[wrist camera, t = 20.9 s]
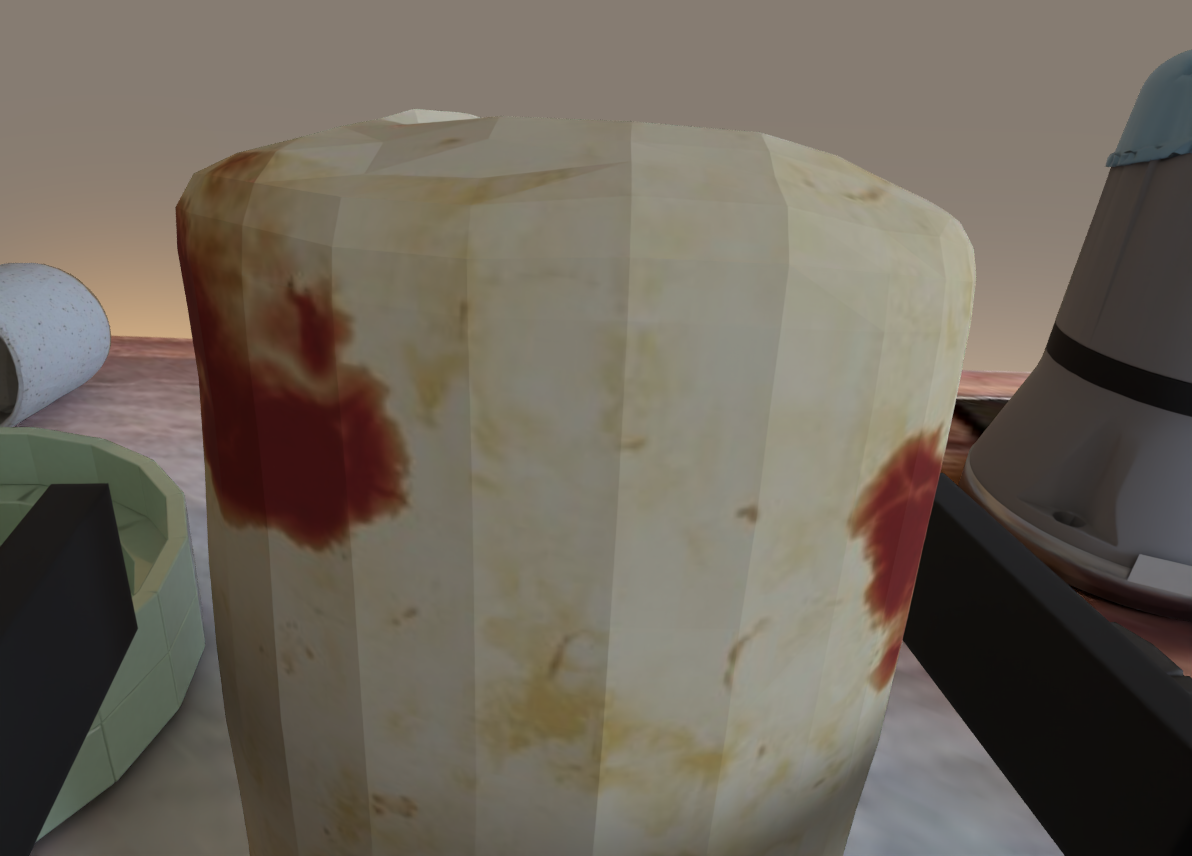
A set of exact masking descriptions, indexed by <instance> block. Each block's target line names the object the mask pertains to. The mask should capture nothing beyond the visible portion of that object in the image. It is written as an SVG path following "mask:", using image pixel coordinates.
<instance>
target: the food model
mask: <svg viewBox="0 0 1192 856" xmlns="http://www.w3.org/2000/svg"><path fill="white" fill-rule="evenodd" d="M176 223H177V224H176V226H177V249H178V255H179V260H180V266H181V272H182V278H183V283H184V289H185V295H186V301H187V306H188V312H189V319H190V325H191V332H192V338H193V344H194V351H195V357H196V363H197V370H198V376H199V388H200V403H201V417H202V432H203V447H204V462H205V482H206V505H207V529H208V553H209V567H210V578H211V589H212V600H213V611H214V622H215V633H216V644H217V652H218V660H219V668H220V676H221V684H222V692H223V700H224V708H225V715H226V721H227V727H228V732H229V737H230V742H231V747H232V752H233V757H234V762H235V768H236V773H237V778H238V783H239V789H240V795H241V801H242V807H243V813H244V819H245V825H246V831H247V837H248V843H249V852H250V856H843V853H844V850H845V846H846V843H847V839H848V836H849V832H850V829H851V826H852V822H853V819H854V815H855V812H856V808H857V805H858V802H859V799H860V796H861V793H862V790H863V787H864V784H865V781H866V778H867V775H868V772H869V769H870V766H871V763H872V760H873V757H874V754H875V751H876V748H877V745H878V742H879V738H880V734H881V730H882V726H883V721H884V717H885V713H886V708H887V704H888V700H889V696H890V691H891V687H892V683H893V678H894V674H895V670H896V665H897V661H898V657H899V653H900V648H901V644H902V640H903V635H904V631H905V627H906V622H907V618H908V613H909V608H910V604H911V599H912V595H913V590H914V585H915V581H916V576H917V572H918V567H919V563H920V558H921V553H922V549H923V544H924V540H925V536H926V532H927V527H928V523H929V519H930V515H931V510H932V506H933V502H934V497H935V493H936V489H937V485H938V480H939V476H940V472H941V467H942V463H943V459H944V454H945V449H946V444H947V440H948V435H949V430H950V425H951V420H952V416H953V411H954V406H955V401H956V396H957V392H958V387H959V382H960V377H961V372H962V366H963V361H964V355H965V350H966V344H967V339H968V334H969V329H970V324H971V318H972V310H973V300H974V293H975V284H976V270H975V259H974V250H973V247H972V244H971V243H970V241H969V239H968V237H967V235H966V233H965V231H964V229H963V227H962V225H961V223H960V222H959V221H958V220H957V219H955V218H954V217H953V216H951V215H950V214H949V213H948V212H946V211H945V210H943V209H941V208H940V207H938V206H936V205H935V204H933V203H931V202H930V201H928V200H926V199H924V198H922V197H920V196H917V195H916V194H913V193H911V192H909V191H907V190H905V189H903V188H901V187H899V186H897V185H894V184H893V183H890V182H888V181H886V180H884V179H882V178H880V177H878V176H876V175H874V174H872V173H870V172H868V171H866V170H864V169H862V168H860V167H858V166H856V165H854V164H852V163H850V162H849V161H847V160H845V159H843V158H841V157H839V156H836V155H833V154H829V153H827V152H823V151H820V150H817V149H813V148H810V147H807V146H803V145H800V144H797V143H793V142H790V141H787V140H783V139H780V138H777V137H774V136H770V135H767V134H763V133H760V132H748V131H738V130H725V129H714V128H702V127H691V126H678V125H667V124H655V123H644V122H632V121H607V120H582V119H557V118H532V117H506V116H497V117H487V118H481V117H477V116H474V115H470V114H467V113H458V112H446V111H435V110H422V109H412V110H409V111H405V112H402V113H398V114H395V115H391V116H388V117H384V118H381V119H376V120H371V121H366V122H360V123H355V124H350V125H345V126H340V127H337V128H333V129H329V130H326V131H322V132H318V133H314V134H311V135H307V136H304V137H300V138H296V139H292V140H287V141H283V142H279V143H275V144H271V145H268V146H263V147H259V148H255V149H252V150H248V151H243V152H239V153H236V154H234V155H232V156H230V157H228V158H225V159H223V160H221V161H219V162H217V163H215V164H213V165H211V166H209V167H207V168H204V169H202V170H200V171H198V172H196V173H194V174H193V176H192V178H191V180H190V181H189V183H188V185H187V187H186V189H185V191H184V193H183V195H182V196H181V198H180V200H179V202H178V204H177V206H176Z"/></svg>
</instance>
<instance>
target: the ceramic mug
mask: <svg viewBox="0 0 1192 856" xmlns="http://www.w3.org/2000/svg"><path fill="white" fill-rule="evenodd" d="M110 346H111V331H110V325H109V322H108V318H107V315H106V313H105V311H104V309H103V307H102V306H101V304H100V302H99V300H98V299H97V298H96V296H95V295H94V294H93V293H92V291H91V290H90V289H89V288H87V287H86V286H85V285H84V284H83V283H82V282H81V281H80V280H79V279H77V278H76V277H74V276H73V275H71V274H69V273H67V272H65V271H63V270H61V269H58V268H55V267H52V266H49V265H45V264H38V263H37V264H36V263H8V264H1V265H0V427H13V426H15V425H16V424H18V423H19V422H21V421H23V420H24V419H26V418H28V417H30V416H31V415H33V414H35V413H36V412H38V411H40V410H41V409H43V408H45V407H46V406H48V405H49V404H51V403H52V402H54V401H55V400H57V399H58V398H60V397H62V396H64V395H66V394H67V393H69V392H71V391H73V390H74V389H76V388H78V387H79V386H81V385H82V384H84V383H85V382H86V381H88V380H89V379H90V378H91V377H92V376H93V375H94V374H95V373H96V372H97V371H98V370H99V369H100V368H101V366H102V365H103V363H104V362H105V360H106V358H107V356H108V353H109V350H110Z"/></svg>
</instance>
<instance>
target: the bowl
mask: <svg viewBox="0 0 1192 856" xmlns="http://www.w3.org/2000/svg"><path fill="white" fill-rule="evenodd" d="M88 483H108V484H109V489H110V494H111V499H112V504H113V508H114V513H115V518H116V523H117V528H118V533H119V538H120V543H121V547H122V552H123V557H124V562H125V567H126V572H127V577H128V582H129V586H130V591H131V596H132V601H133V606H134V611H135V616H136V621H137V625H138V630H137V632H136V634H135V636H134V638H133V640H132V642H131V644H130V646H129V649H128V651H127V653H126V655H125V657H124V659H123V661H122V663H121V665H120V667H119V669H118V671H117V674H116V676H115V678H114V680H113V682H112V684H111V686H110V688H109V690H108V692H107V694H106V696H105V699H104V701H103V703H102V705H101V707H100V709H99V711H98V713H97V715H96V717H95V719H94V721H93V723H92V726H91V728H90V730H89V732H88V734H87V736H86V738H85V740H84V742H83V744H82V746H81V748H80V751H79V753H78V755H77V757H76V759H75V761H74V763H73V765H72V767H71V769H70V771H69V773H68V776H67V778H66V780H65V782H64V784H63V786H62V788H61V790H60V792H59V794H58V796H57V798H56V801H55V803H54V805H53V807H52V809H51V811H50V813H49V815H48V817H47V819H46V821H45V823H44V825H43V828H42V830H41V832H40V834H39V836H38V838H37V840H36V842H37V841H38V840H40V839H41V838H42V837H44V836H45V835H46V834H48V833H49V832H50V831H52V830H53V829H54V828H56V827H57V826H58V825H59V824H61V823H62V822H63V821H65V820H66V819H67V818H69V817H70V816H71V815H73V814H74V813H75V812H77V811H78V810H79V809H81V808H82V807H83V806H85V805H86V804H87V803H89V802H90V801H91V800H93V799H94V798H95V797H97V796H98V795H99V794H101V793H102V792H103V791H105V790H106V789H107V788H109V787H110V786H111V785H113V783H114V782H116V781H118V780H119V779H120V777H121V776H122V775H123V774H124V773H125V772H126V770H127V769H128V768H129V767H130V766H131V765H132V763H133V762H134V761H135V760H136V759H137V758H138V756H139V755H140V754H141V753H142V752H143V751H144V749H145V748H146V747H147V746H148V745H149V744H150V742H151V741H152V740H153V739H154V738H155V736H156V735H157V734H158V733H159V732H160V731H161V729H162V728H163V727H164V726H165V725H166V724H167V722H168V721H169V720H170V719H171V718H172V717H173V715H174V714H175V713H176V712H177V711H178V709H179V708H180V706H181V704H182V701H183V699H184V697H185V694H186V692H187V689H188V687H189V684H190V682H191V679H192V677H193V675H194V672H195V670H196V667H197V665H198V662H199V660H200V657H201V655H202V653H203V650H204V648H205V635H204V625H203V615H202V605H201V595H200V589H199V583H198V576H197V570H196V564H195V557H194V551H193V545H192V539H191V532H190V526H189V519H188V513H187V507H186V500H185V495H184V493H183V491H182V490H181V489H180V488H179V487H178V486H177V485H176V484H175V483H174V482H173V481H172V479H171V478H170V477H169V476H168V475H167V474H166V473H165V472H164V471H163V470H162V469H161V467H160V466H159V465H158V464H157V463H156V462H155V461H154V460H152V459H150V458H148V457H145V456H143V455H141V454H139V453H136V452H134V451H132V450H129V449H127V448H125V447H122V446H120V445H118V444H115V443H113V442H111V441H108V440H106V439H102V438H96V437H90V436H84V435H78V434H73V433H67V432H61V431H55V430H49V429H43V428H35V427H0V546H1V545H2V544H3V542H4V541H5V540H6V539H7V537H8V536H9V535H10V534H11V532H12V531H13V530H14V529H15V528H16V526H17V525H18V524H19V523H20V521H21V520H22V519H23V518H24V517H25V515H26V514H27V513H28V512H29V510H30V509H31V508H32V507H33V505H34V504H35V503H36V502H37V501H38V499H39V498H40V497H41V496H42V494H43V493H44V492H45V491H46V490H47V488H48V487H49V486H50V485H51V484H88ZM36 842H35V843H36Z"/></svg>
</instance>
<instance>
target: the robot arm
mask: <svg viewBox="0 0 1192 856" xmlns="http://www.w3.org/2000/svg"><path fill="white" fill-rule="evenodd" d="M1106 167H1111V169H1110V172H1109V175H1108V178H1107V180H1106V183H1105V186H1104V189H1103V192H1102V195H1101V197H1100V200H1099V203H1098V206H1097V209H1096V211H1095V214H1094V217H1093V220H1092V222H1091V225H1090V228H1089V230H1088V233H1087V236H1086V238H1085V241H1084V244H1083V247H1082V249H1081V252H1080V255H1079V258H1078V260H1077V263H1076V265H1075V268H1074V271H1073V274H1072V276H1071V279H1070V282H1069V285H1068V287H1067V290H1066V293H1065V295H1064V298H1063V301H1062V304H1061V307H1060V309H1059V312H1058V314H1057V317H1056V320H1055V323H1054V326H1053V329H1052V332H1051V334H1050V337H1049V340H1048V343H1047V345H1046V348H1045V351H1044V353H1043V356H1042V358H1041V360H1040V362H1039V363H1038V365H1037V367H1036V368H1035V369H1034V370H1033V372H1032V373H1031V374H1030V375H1029V377H1028V378H1027V379H1026V380H1025V382H1024V383H1023V384H1022V385H1021V386H1020V388H1019V389H1018V390H1017V391H1016V393H1015V394H1014V395H1013V396H1012V398H1011V399H1010V400H1009V401H1008V403H1007V404H1006V405H1005V406H1004V408H1003V409H1002V410H1001V411H1000V413H999V414H998V415H997V416H996V418H995V419H994V420H993V421H992V423H991V424H990V425H989V426H988V428H987V429H986V430H985V431H984V433H983V434H982V435H981V437H980V438H979V439H978V440H977V442H976V443H975V444H974V445H973V446H972V447H971V449H970V451H969V454H968V457H967V460H966V463H965V466H964V469H963V472H962V475H961V478H960V481H959V486H957V485H956V484H955V483H954V482H953V481H952V480H951V479H950V478H948V477H947V476H946V475H945V474H944V473H940V476H939V480H938V485H937V489H936V493H935V497H934V502H933V506H932V510H931V515H930V519H929V523H928V527H927V532H926V536H925V540H924V544H923V549H922V553H921V558H920V563H919V567H918V572H917V576H916V581H915V585H914V590H913V595H912V599H911V604H910V608H909V613H908V618H907V622H906V627H905V631H904V635H903V641H904V642H905V644H906V645H907V646H908V648H909V649H910V650H911V652H912V653H913V654H914V656H915V657H916V658H917V660H918V661H919V662H920V664H921V665H922V666H923V668H924V669H925V670H926V672H927V673H928V674H929V676H930V677H931V678H932V680H933V681H934V682H935V684H936V685H937V686H938V688H939V689H940V690H941V692H942V693H943V694H944V696H945V697H946V698H947V700H948V701H949V702H950V704H951V705H952V706H953V708H954V709H955V710H956V712H957V713H958V714H959V716H960V717H961V718H962V720H963V721H964V722H965V724H966V725H967V726H968V728H969V729H970V730H971V732H972V733H973V734H974V735H975V737H976V738H977V739H978V741H979V742H980V743H981V745H982V746H983V747H984V749H985V750H986V751H987V753H988V754H989V755H990V757H991V758H992V759H993V761H994V762H995V763H996V765H997V766H998V767H999V769H1000V770H1001V771H1002V773H1003V774H1004V775H1005V777H1006V778H1007V779H1008V781H1009V782H1010V783H1011V785H1012V786H1013V787H1014V789H1015V790H1016V791H1017V793H1018V794H1019V795H1020V797H1021V798H1022V799H1023V801H1024V802H1025V803H1026V805H1027V806H1028V807H1029V809H1030V810H1031V811H1032V813H1033V814H1034V815H1035V817H1036V818H1037V819H1038V821H1039V822H1040V823H1041V825H1042V826H1043V827H1044V829H1045V830H1046V831H1047V833H1048V834H1049V835H1050V837H1051V838H1052V839H1053V841H1054V842H1055V843H1056V845H1057V846H1058V847H1059V849H1060V850H1061V851H1062V853H1063V854H1064V855H1065V856H1192V678H1191V677H1190V676H1184V675H1183V670H1182V669H1180V668H1179V667H1178V666H1177V665H1176V664H1175V663H1174V662H1172V661H1171V660H1170V659H1169V658H1168V657H1167V656H1166V655H1164V654H1163V653H1162V652H1161V651H1160V650H1159V649H1158V648H1156V647H1155V646H1154V645H1153V644H1151V643H1150V642H1148V641H1146V640H1145V639H1143V638H1141V637H1139V636H1138V635H1136V634H1134V633H1133V632H1131V631H1129V630H1128V629H1126V628H1124V627H1123V626H1121V625H1119V624H1118V623H1116V622H1109V621H1108V620H1107V619H1106V618H1105V617H1103V616H1102V615H1101V614H1100V613H1099V612H1098V611H1097V610H1096V609H1094V608H1093V607H1092V606H1091V605H1090V604H1089V603H1088V602H1087V601H1086V600H1084V599H1083V598H1082V597H1081V596H1080V595H1079V594H1078V593H1077V592H1076V591H1074V590H1073V589H1072V588H1071V587H1070V586H1069V585H1072V586H1074V587H1076V588H1079V589H1081V590H1083V591H1086V592H1088V593H1091V594H1093V595H1096V596H1098V597H1101V598H1104V599H1107V600H1109V601H1112V602H1115V603H1118V604H1121V605H1124V606H1127V607H1131V608H1134V609H1138V610H1141V611H1145V612H1149V613H1152V614H1156V615H1161V616H1165V617H1170V618H1175V619H1180V620H1186V621H1192V50H1188V51H1185V52H1183V53H1180V54H1178V55H1176V56H1174V57H1172V58H1171V59H1169V60H1167V61H1166V62H1164V63H1163V64H1161V65H1160V66H1159V67H1158V68H1157V69H1156V70H1155V71H1154V72H1153V73H1152V74H1151V75H1150V76H1149V77H1148V79H1147V80H1146V82H1145V83H1144V85H1143V87H1142V89H1141V91H1140V93H1139V95H1138V98H1137V100H1136V103H1135V105H1134V108H1133V110H1132V112H1131V115H1130V117H1129V120H1128V122H1127V124H1126V127H1125V129H1124V132H1123V134H1122V137H1121V139H1120V141H1119V144H1118V146H1117V148H1116V151H1115V152H1114V153H1112V154H1110V156H1109V157H1108V159H1107V163H1106ZM1068 584H1069V585H1068ZM137 630H138V625H137V621H136V616H135V611H134V606H133V601H132V596H131V591H130V586H129V582H128V577H127V572H126V567H125V562H124V557H123V552H122V547H121V543H120V538H119V533H118V528H117V523H116V518H115V513H114V508H113V504H112V499H111V494H110V489H109V484H108V483H88V484H51V485H50V486H49V487H48V488H47V490H46V491H45V492H44V493H43V494H42V496H41V497H40V498H39V499H38V501H37V502H36V503H35V504H34V505H33V507H32V508H31V509H30V510H29V512H28V513H27V514H26V515H25V517H24V518H23V519H22V520H21V521H20V523H19V524H18V525H17V526H16V528H15V529H14V530H13V531H12V532H11V534H10V535H9V536H8V537H7V539H6V540H5V541H4V542H3V544H2V545H1V546H0V856H29V855H30V853H31V850H32V848H33V846H34V844H35V842H36V840H37V838H38V836H39V834H40V832H41V830H42V828H43V825H44V823H45V821H46V819H47V817H48V815H49V813H50V811H51V809H52V807H53V805H54V803H55V801H56V798H57V796H58V794H59V792H60V790H61V788H62V786H63V784H64V782H65V780H66V778H67V776H68V773H69V771H70V769H71V767H72V765H73V763H74V761H75V759H76V757H77V755H78V753H79V751H80V748H81V746H82V744H83V742H84V740H85V738H86V736H87V734H88V732H89V730H90V728H91V726H92V723H93V721H94V719H95V717H96V715H97V713H98V711H99V709H100V707H101V705H102V703H103V701H104V699H105V696H106V694H107V692H108V690H109V688H110V686H111V684H112V682H113V680H114V678H115V676H116V674H117V671H118V669H119V667H120V665H121V663H122V661H123V659H124V657H125V655H126V653H127V651H128V649H129V646H130V644H131V642H132V640H133V638H134V636H135V634H136V632H137Z"/></svg>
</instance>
